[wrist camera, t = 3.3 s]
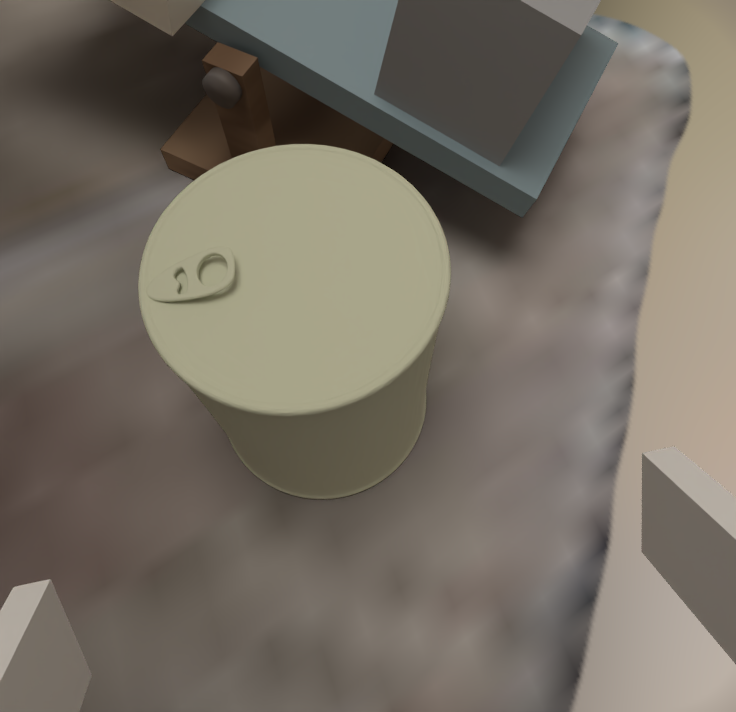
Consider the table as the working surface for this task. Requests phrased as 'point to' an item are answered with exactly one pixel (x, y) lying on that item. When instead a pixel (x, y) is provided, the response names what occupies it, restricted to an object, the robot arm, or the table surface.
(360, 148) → the pivot stand
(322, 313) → the can
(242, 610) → the table surface
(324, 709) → the table surface
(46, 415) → the table surface
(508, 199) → the balance beam
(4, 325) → the table surface
